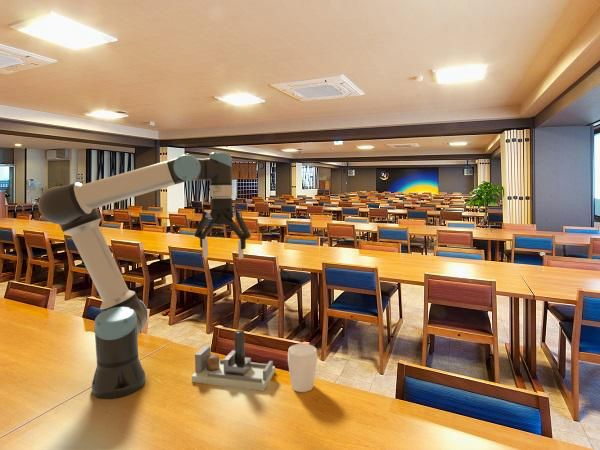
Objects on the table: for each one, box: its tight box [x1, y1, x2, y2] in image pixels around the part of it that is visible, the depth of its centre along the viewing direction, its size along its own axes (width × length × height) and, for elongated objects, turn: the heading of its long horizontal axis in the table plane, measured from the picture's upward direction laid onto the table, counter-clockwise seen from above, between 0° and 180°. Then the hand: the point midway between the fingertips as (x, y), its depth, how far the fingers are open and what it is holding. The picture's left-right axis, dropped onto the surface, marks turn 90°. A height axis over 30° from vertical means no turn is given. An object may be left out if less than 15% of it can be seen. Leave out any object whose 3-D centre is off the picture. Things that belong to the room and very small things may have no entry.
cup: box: [287, 343, 318, 393], centre depth 117 cm, size 9×9×12 cm
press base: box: [191, 344, 276, 392], centre depth 123 cm, size 24×12×8 cm, turn 77°
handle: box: [223, 329, 252, 376], centre depth 122 cm, size 7×7×13 cm
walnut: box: [207, 353, 220, 371], centre depth 125 cm, size 4×4×4 cm
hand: (223, 257), depth 134 cm, fingers open, 13 cm apart
